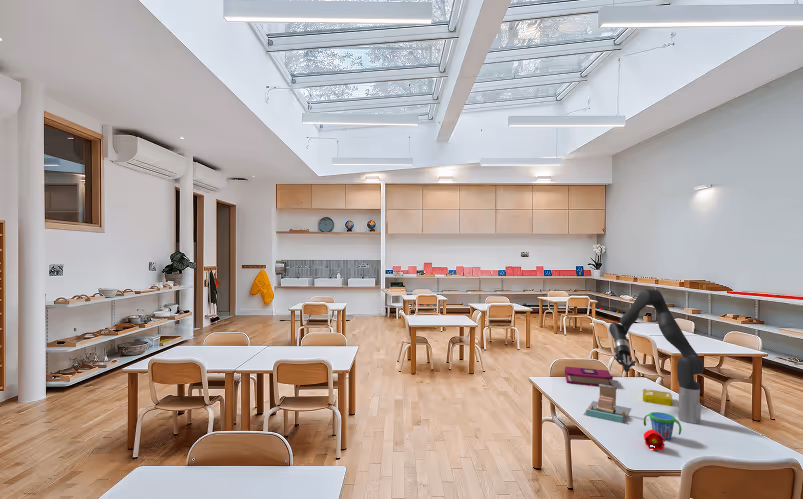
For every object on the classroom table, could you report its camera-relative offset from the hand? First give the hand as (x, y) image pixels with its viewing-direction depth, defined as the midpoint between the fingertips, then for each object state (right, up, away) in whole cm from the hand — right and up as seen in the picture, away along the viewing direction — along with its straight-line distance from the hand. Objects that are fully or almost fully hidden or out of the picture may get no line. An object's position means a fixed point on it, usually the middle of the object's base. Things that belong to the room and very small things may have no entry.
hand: (627, 371), depth 253 cm
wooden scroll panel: (-19, -19, -15) cm, 31 cm away
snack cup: (-5, -20, -42) cm, 47 cm away
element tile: (+25, -22, +13) cm, 35 cm away
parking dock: (-16, -20, -10) cm, 27 cm away
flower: (-15, -20, -54) cm, 59 cm away
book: (-2, -21, +50) cm, 54 cm away
